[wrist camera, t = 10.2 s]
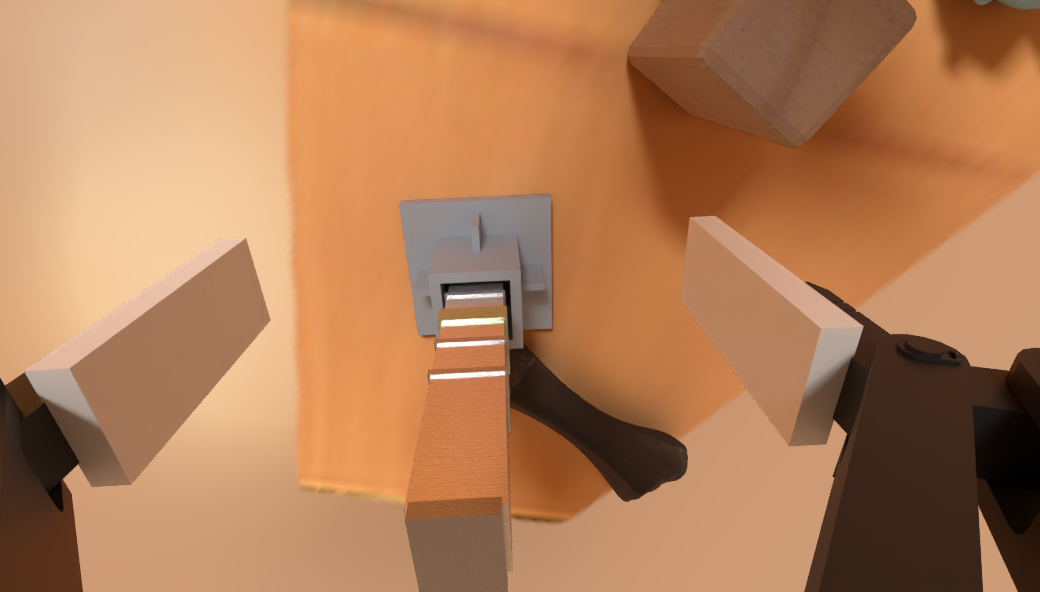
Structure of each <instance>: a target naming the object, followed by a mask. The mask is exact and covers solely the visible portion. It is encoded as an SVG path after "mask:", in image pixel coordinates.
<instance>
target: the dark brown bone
mask: <svg viewBox="0 0 1040 592" xmlns="http://www.w3.org/2000/svg"><path fill="white" fill-rule="evenodd" d="M523 347H524V348H517V349H511V350H510V351H509V358H510V374H509V388H510V398H509V399H510V407H511V408H513V409H515V410H518V411H520V412H522V413H524V414H526V415H528V416H530V417H532V418H534V419H536V420H538V421H540V422H542V423H543V424H545V425H547V426H548V427H550V428H552V429H553V430H555V431H556V432H558V433H559V434H561V435H562V436H563V437H565V438H566V439H567V440H569V441H570V442H571V443H572V444H574V445H575V446H576V447H577V448H578V449H579V450H580V451H581V452H583V453H584V454H585V455H586V456H587V458H588V459H589V460H590V461H591V462H592V463H593V464H594V465H595V466H596V468H597V469H598V470H599V471H600V472H601V474H602V475H603V476H604V478H605V479H606V480H607V482H608V483H609V484H610V486H611V487H612V488H613V490H614V491H615V492H616V494H617V495H618V496H619V497H620V498H621V499H622V500H623V501H626V502H628V501H630V500H634V499H638V498H640V497H641V496H643V495H644V494H646V493H647V492H651V491H653V490H655V489H657V488H658V487H659V486H660V485H661V484H663V483H666V482H670V481H676V480H678V479H680V478H681V477H682V476H683V475H684V474H685V472H686V469H687V460H688V455H687V449H686V447H685V445H683V444H682V443H681V442H680V441H678V440H677V439H676V438H674V437H672V436H671V435H669V434H667V433H664V432H661V431H658V430H653V429H648V428H644V427H640V426H636V425H632V424H629V423H626V422H623V421H621V420H618V419H616V418H614V417H612V416H610V415H608V414H606V413H604V412H602V411H600V410H599V409H597V408H596V407H594V406H592V405H591V404H589V403H588V402H586V401H585V400H584V399H582V398H581V397H580V396H578V395H577V394H576V393H574V392H573V391H572V390H571V389H569V388H568V387H567V386H566V385H565V384H564V383H562V382H561V381H560V380H559V379H558V378H557V377H556V376H555V375H554V374H553V373H552V372H551V371H550V370H549V369H548V368H547V367H546V366H545V365H544V364H543V363H542V362H541V361H540V360H539V359H538V358H537V357H536V356H535V355H534V354H533V353H532V352H531V351H530V350H529V349H528V348H527V347H526V346H525V345H524V344H523Z"/></svg>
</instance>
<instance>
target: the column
mask: <svg viewBox="0 0 1040 592" xmlns="http://www.w3.org/2000/svg"><path fill="white" fill-rule="evenodd" d="M444 296H445V309H440V311H439V316H438V320H437V321H438V329H439V339H435V342H434V346H435V359H434V363H433V368H432V370H428V374H427V376H428V383H429V388H428V393H427V398H426V403H425V408H424V412H423V417H422V422H421V427H420V432H419V437H418V442H417V447H416V452H415V456H414V461H413V466H412V471H411V476H410V481H409V486H408V491H407V496H406V501H405V505H404V514H405V523H406V528H407V533H408V538H409V543H410V548H411V553H412V558H413V563H414V567H415V572H416V577H417V582H418V587H419V592H508V584H507V583H508V580H507V571H513V567H512V566H513V564H512V531H511V499H510V467H509V434H508V433H511V417H510V399H509V398H510V388H509V374H510V358H509V339H508V320H507V306H506V299H505V290H503V281H484V282H464V283H450V285H449V290H448V293H445V295H444Z"/></svg>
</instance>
